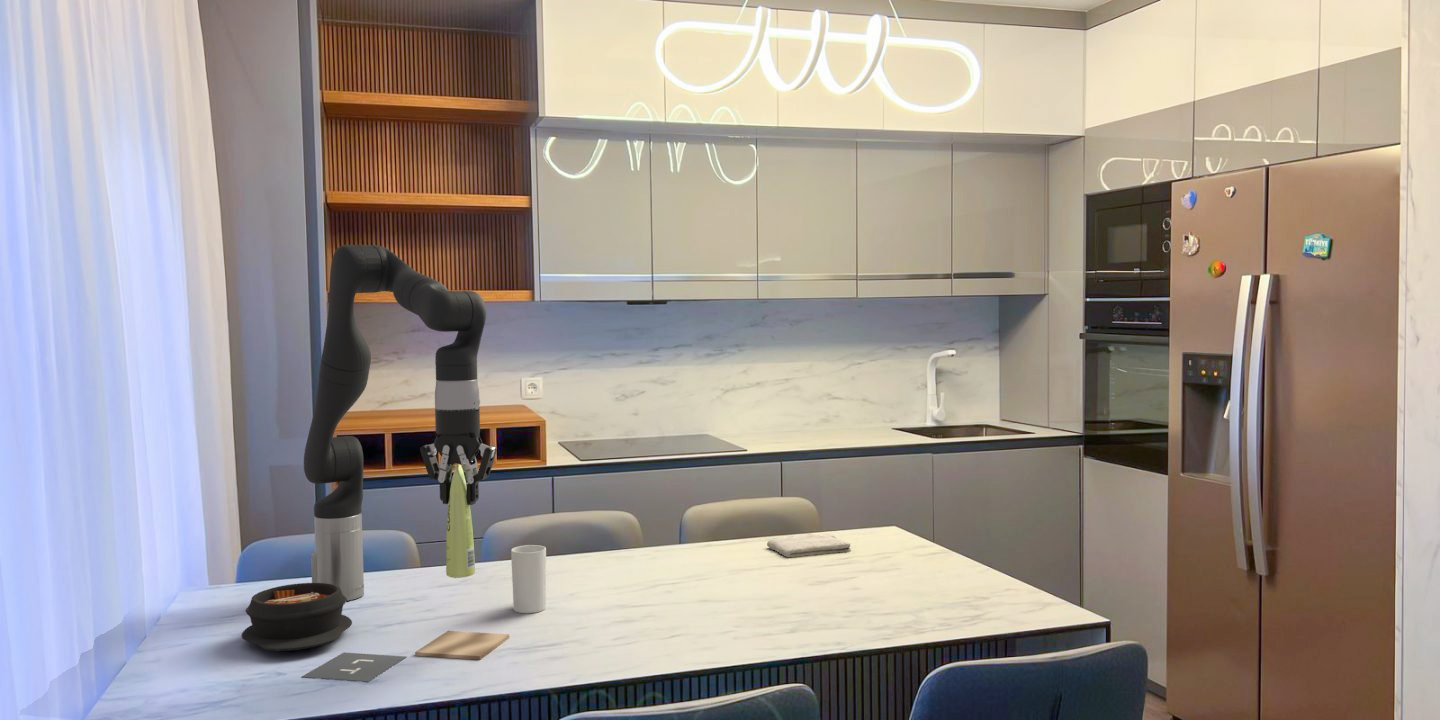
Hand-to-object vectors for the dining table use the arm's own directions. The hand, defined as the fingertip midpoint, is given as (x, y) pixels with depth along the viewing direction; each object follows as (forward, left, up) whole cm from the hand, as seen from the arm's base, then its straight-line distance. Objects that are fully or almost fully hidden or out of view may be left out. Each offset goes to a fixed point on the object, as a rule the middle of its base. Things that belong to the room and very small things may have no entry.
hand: (459, 503), depth 180 cm
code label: (-13, -13, -26) cm, 32 cm away
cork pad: (0, 0, -25) cm, 25 cm away
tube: (0, 0, -13) cm, 13 cm away
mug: (+2, +25, -26) cm, 36 cm away
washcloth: (+51, +83, -26) cm, 100 cm away
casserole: (-32, -1, -26) cm, 41 cm away
